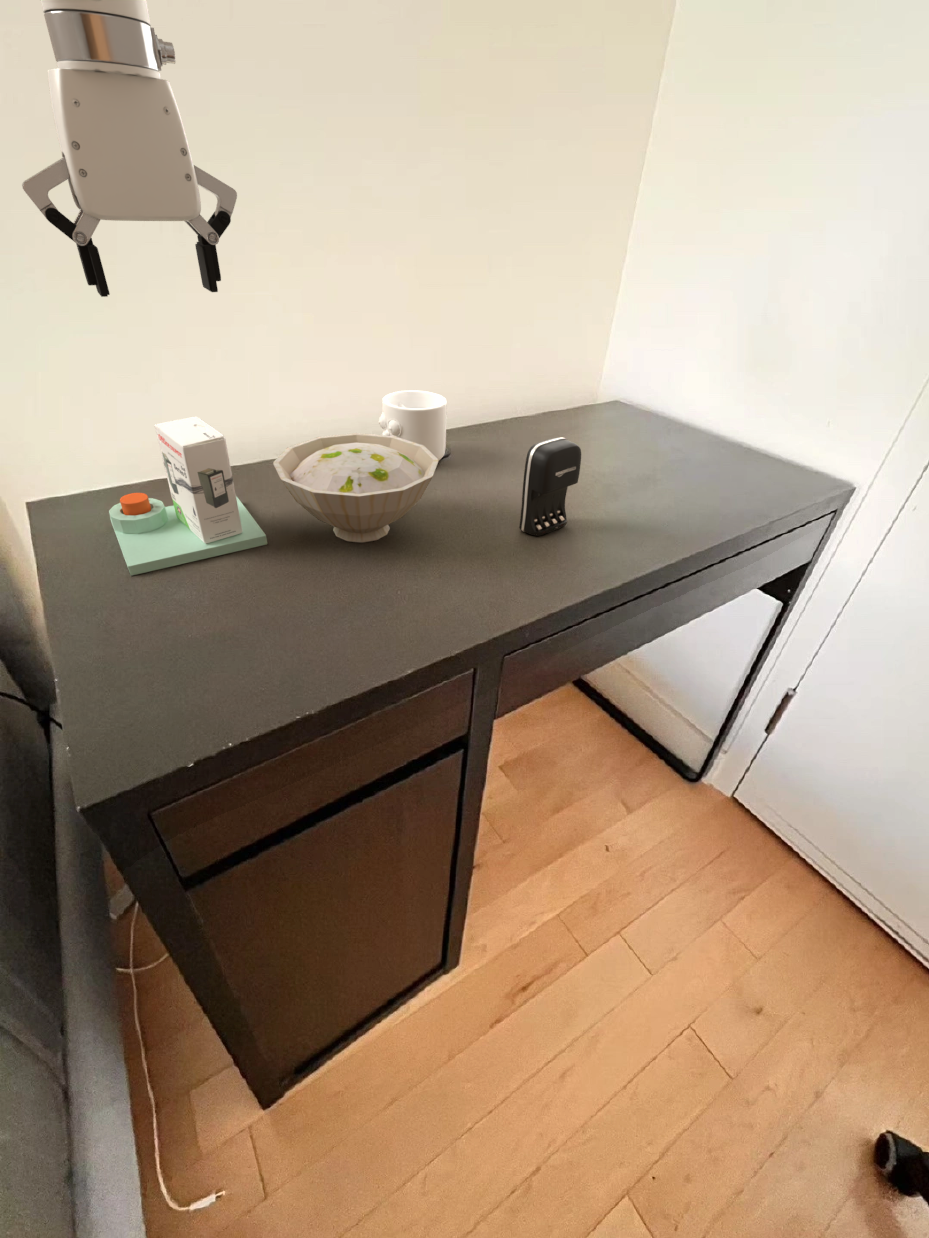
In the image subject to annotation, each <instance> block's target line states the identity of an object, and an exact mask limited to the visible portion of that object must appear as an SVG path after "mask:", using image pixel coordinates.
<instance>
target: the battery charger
mask: <svg viewBox="0 0 929 1238" xmlns="http://www.w3.org/2000/svg"><path fill="white" fill-rule="evenodd" d="M581 464H582V450H581V447H580V446H579V444H577V443H575V442H573V441H571V440H569V439H568V438H565V437H560V436H559V437H553V438H549V439H545V440H542V441H540V442H539V441H538V442H536V443H534V444H532V446H530V448H529V449H528V451H527V454H526V457H525V464H524V470H523V471H524V472H523V482H522V492H521V494H522V495H521V508H520V509H521V510H520V517H519V525H518V528H519V530H521V532H523V533H527V534H529V535H532V536H534V537H538V536H539V537H540V536H543V535H547V534H548V533H551V532H554V531H556V530H558V529H561V528H563V527H565V526H566V525H567V522H568V521H567V519H568V518H567V513H566V512H567V511H566V497H567V493H568V487H570V486H574V485H576V484H578V483H579V477H580V473H581Z"/></svg>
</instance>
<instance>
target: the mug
mask: <svg viewBox="0 0 929 1238" xmlns="http://www.w3.org/2000/svg"><path fill="white" fill-rule="evenodd" d="M381 407H382V411H381V415H380V416H379V419H378V425H379V427H380V428H381V429H382V434H381V435H386V436H395V437H398V438H401V439H405V440H408V441H411V442H414V443H417V444H420V445H423V446H425V447H426V448H427V449H428V450H429V451H430V452H431V453H432V454H433V455H434V456H435V457H436V458H437V459H438V460H439V461H440V460H442V458H443V457H444V456H445V454H446V446H447V413H448V412H447V409H448V408H447V407H448V402H447V399H446V397H444V396H443V395H441V394H440V393H435V392H431V391H427V390H417V389H416V390H415V389H413V390H409V389H408V390H398V391H394V392H393V391H392V392H390V393H387V394H385V395H384V396H383V397H382V399H381Z"/></svg>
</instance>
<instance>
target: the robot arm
mask: <svg viewBox="0 0 929 1238" xmlns="http://www.w3.org/2000/svg"><path fill="white" fill-rule="evenodd" d="M39 1H40V5H41V9H42V13H43V17H44V20H45V24H46V28H47V32H48V36H49V39H50V43H51V47H52V51H53V56H54V59H55V62H56V63H55V64H56V66H57V67H56V68H50V69H47V82H48V90H49V97H50V104H51V110H52V116H53V121H54V126H55V130H56V135H57V139H58V144H59V149H60V154H61V158H59V159H57V160H56V161H55V162H53V163H51V164H50V165H48V166H46V167H45V168H43V169H42V170H40V171H38V172H37V173H35V174H34V175H31V176H30V177H29V178H27V179H25V180H23V182H22V183H21V187H22V189H23V192H24V193H25V194H26V195H27V196H28V198H29V199H30V200H31V201H32V203H33V204H34V205H35V207H36V208H37V209H38V210H39V212H40V213H41V214H42V215H43V216H44V218H45V219H46V220H47V221H48V222H49V223H50V224H51V225H53V226H54V227H55V228H56V229H57V230H59V231H60V232H61V233H62V234H64V235H65V236H66V237H67V238H69V239H70V240H71V241H72V242H74V243H75V244H76V249H77V253H78V255H79V258H80V263H81V266H82V269H83V273H84V276H85V277H84V278H85V280H86V283H87V285H88V286H95V287H96V291H97V293H98V295H99V296H100V297H101V298H103V297H104V298H108V297H109V296H110V294H111V293H110V289H109V287H108V282H107V278H106V275H105V270H104V267H103V264H102V260H101V255H100V251H99V249H98V247H97V246H96V244H94V242H93V241H94V240H93V239H92V237H93V235H94V233H95V231H96V229H97V227H98V225H99V223H100V221H101V220H103V221H113V222H114V221H115V222H116V221H117V222H118V221H119V222H120V221H123V222H125V221H126V222H184V223H185V224H186V225H187V226H188V227H189V228H190V229H191V231H192V232H194V234H196V236H197V241H196V243H195V244H194V245H195V251H196V256H197V257H196V258H197V262H198V268H199V274H200V279H201V285H202V287H203V288H204V289H206V290H207V291H209V292H211V293H218V292H219V289H218V284H217V282H221V281H222V275H221V270H220V268H221V267H220V263H219V256H218V250H217V245H218V244H219V242H220V239H221V237H222V235H223V234H224V233H225V232H226V230H227V228H228V227H229V226H230V224H231V222H232V215H233V213H234V209H235V205H236V202H237V199H238V192H237V191H236V189H234V188H233V187H231V186H230V185H228V184H226V183H225V182H223V181H222V180H220V179H218V178H216V177H215V176H213V175H212V174H210V173H208V172H206V171H205V170H203V169H201V168H200V167H198V166H197V165H195V164H194V161H193V157H192V153H191V150H190V146H189V142H188V138H187V134H186V130H185V126H184V123H183V119H182V115H181V111H180V109H179V106H178V103H177V100H176V96H175V94H174V93H175V92H174V91H173V87H172V85H171V83H170V80H167V79H162V77H161V73H160V72H161V71H162V67H163V65H165V66H166V65H167V64H173V65H175V64H176V62H177V61H176V51H175V47H174V44H173V42H171V41H164V40H163V39H162V38H159V37H158V35H157V34H156V32H155V27H151V26H152V23H151V18H150V17H151V16H150V12H149V6H148V1H147V0H39ZM65 181H67V182H68V186H69V190H70V193H71V196H72V199H73V202H74V204H75V206H76V207H77V209H78V210H79V212H78V213H77V215H76V216H75V219H74V221H72V220H70V218H68V217H66V215H64V214H63V213H62V212H61V211H59V209H58V207H56V205H55V204H54V203H53V202H52V200H51V199H50V197H49V192H50V191H51V190H52V189H54V188H55V187H58V186H59V185H61V184H62V183H64V182H65ZM199 187H200V188H202V189H203V190H205V191H207V192H209V193H211V194H212V195H214V196H215V198H216V200H217V201H216V208H215V211H214V212H213V213H212V214H211V216H210V217H209V219H208V220H206V219H205V218H204V217H203V215H201V212H202V203H201V202H202V201H201V195H200V188H199Z"/></svg>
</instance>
